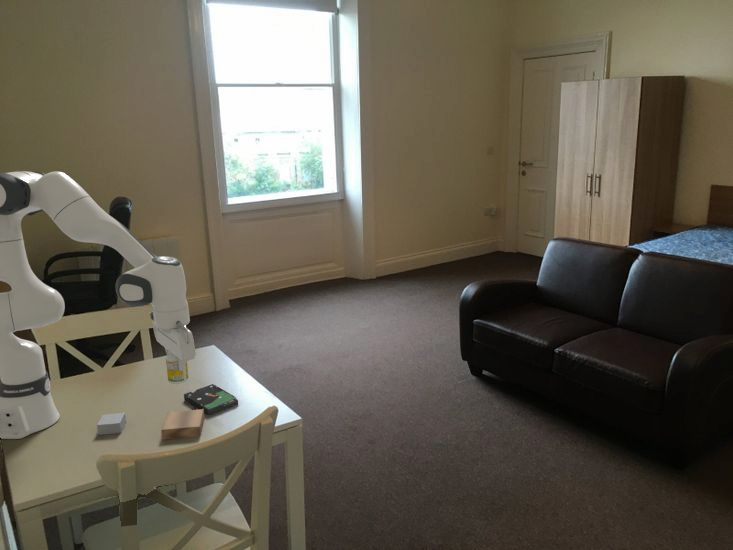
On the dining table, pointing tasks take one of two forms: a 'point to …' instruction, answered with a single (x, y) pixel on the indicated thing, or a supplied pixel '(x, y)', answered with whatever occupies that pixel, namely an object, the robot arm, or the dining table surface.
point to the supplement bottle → (175, 370)
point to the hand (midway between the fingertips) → (177, 366)
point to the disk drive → (211, 399)
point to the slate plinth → (111, 423)
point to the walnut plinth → (183, 424)
